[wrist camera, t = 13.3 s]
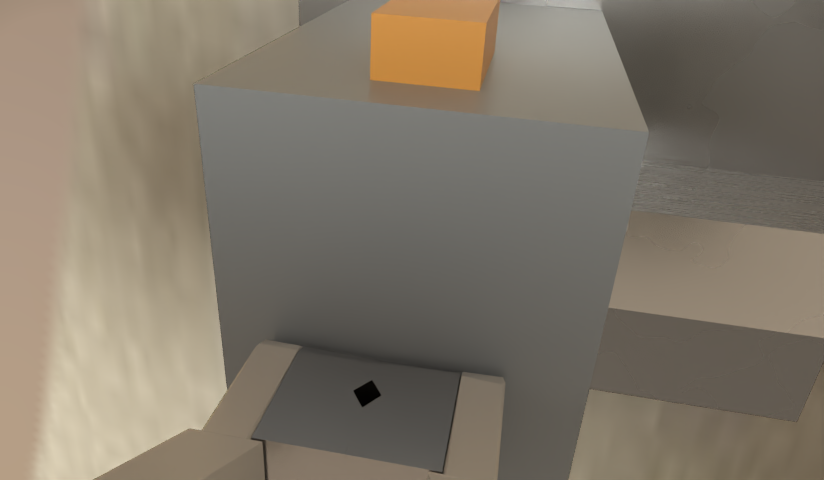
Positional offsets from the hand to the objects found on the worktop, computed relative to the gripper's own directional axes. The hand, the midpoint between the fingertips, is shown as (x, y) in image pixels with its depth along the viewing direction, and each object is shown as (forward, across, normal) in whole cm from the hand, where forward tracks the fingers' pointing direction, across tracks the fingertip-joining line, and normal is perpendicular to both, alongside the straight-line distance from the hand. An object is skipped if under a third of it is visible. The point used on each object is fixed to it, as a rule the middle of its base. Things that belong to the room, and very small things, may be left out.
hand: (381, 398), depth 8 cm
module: (+7, 0, 0) cm, 7 cm away
